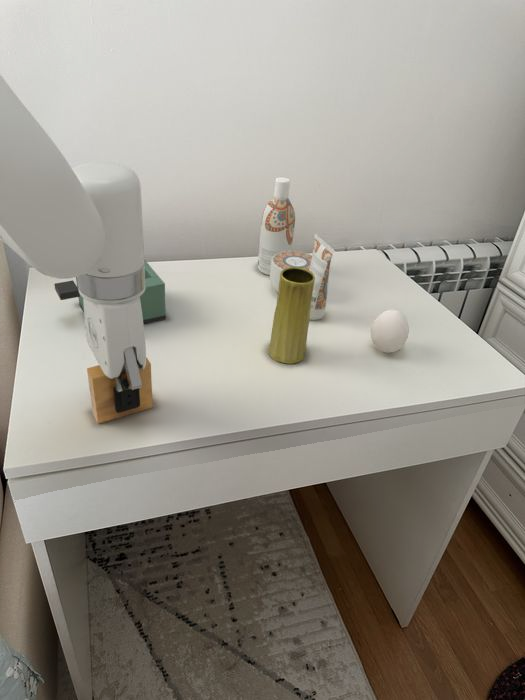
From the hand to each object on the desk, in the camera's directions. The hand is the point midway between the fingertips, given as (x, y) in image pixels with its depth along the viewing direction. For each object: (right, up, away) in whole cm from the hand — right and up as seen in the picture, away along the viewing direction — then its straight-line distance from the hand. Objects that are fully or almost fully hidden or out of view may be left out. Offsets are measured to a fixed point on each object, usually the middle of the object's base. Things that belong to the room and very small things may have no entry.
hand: (122, 397), depth 71 cm
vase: (+23, +6, +16) cm, 28 cm away
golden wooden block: (0, -2, +1) cm, 2 cm away
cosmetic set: (+24, +18, +33) cm, 44 cm away
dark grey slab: (-12, +15, +14) cm, 24 cm away
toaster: (-6, +13, +21) cm, 25 cm away
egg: (+40, +6, +19) cm, 44 cm away
